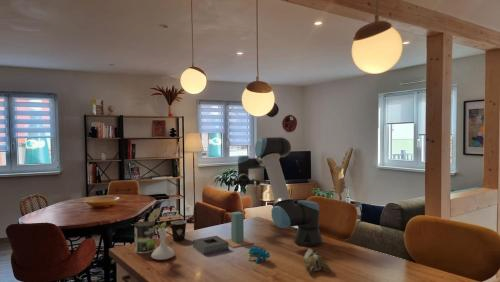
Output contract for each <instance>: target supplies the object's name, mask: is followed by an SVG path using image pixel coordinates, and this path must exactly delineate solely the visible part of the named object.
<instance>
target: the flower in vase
mask: <svg viewBox="0 0 500 282" xmlns="http://www.w3.org/2000/svg"><path fill="white" fill-rule="evenodd" d="M160 214H161V208H158V207H157V208H154V209H153V210H152V212H151V213H150V214H149V216H148V218H147V221H149V222H150V221H151V222H155V221H156V220H157V223H158V224H155V226H154V227H153V228H152V229H155V230H157V232H158V234H159V237H160V243H159V246H157V247H156V248H155V250H154V251H152V252H151V255H150V256H151V258H152V259H154V260H158V261H161V260H162V261H165V260H168V259H171V258H173V257H174V256H175V254H176V252H175V250H174V249H172V248H171V247H170V246H168V245H167V243H166V237H167V236H166V234H167V232H169V231H168V230H169V228H165V227H166V226H167V221H164V222H162V223H160V222H159V219H158V218H159V216H160ZM158 228H159V229H158Z"/></svg>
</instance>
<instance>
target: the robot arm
mask: <svg viewBox="0 0 500 282" xmlns="http://www.w3.org/2000/svg"><path fill="white" fill-rule="evenodd" d="M291 151H292V145H291V142H290V141H289V140H288V139H287V138H286V137H279V136H278V137H277V136H274V137H272V136H271V137H269V136H267V137H266V136H265V137H264V136H263V137H259V138H258V139H257V140H256V142H255V147H254V154H255V156H256V157H250V158H249V156H248V155H238V157H237V179H235V178H234V179H231V180H228V181H227V186H230V187H232V188H234V186H235V185H238V186H241V187H247V186H248V185H253V186H254V188H256V187H257V186H260V185H261V180H258V179H253V178H252V179H251V178H250V175H249V174H250V173H249V172H250V170H258V169H259V170H260V169H265V170H266V173H267V176H268V180H269V183H270V187H271V191H272V196H273V199H274V203H273V207H272V208H271V214H270V215H271V219H272V221H273V224H275V226H277V228H280V229H284V228H285V229H288V228H292V227H293V228H294V227H297V231H296V234H295V236H294V243H295V244H296V245H298V246H301V247H305V248H306V247H307V248H315V247H320V246H322V245H323V238H322V234H321V231H320V205H319V203H318V202H315V201H312V200H303V199H301V200H300V199H299V200H298V201H297V203H295V199H294V198H292V197H291V196H290V193H289V190H288V186H287V183H286V180H285V176H284V173H283V168H282V165H281V163H280V159H281V158H282V159H283V158H285V157H287V156H288V155H289V154H290V153H291Z"/></svg>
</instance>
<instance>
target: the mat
mask: <svg viewBox="0 0 500 282" xmlns="http://www.w3.org/2000/svg"><path fill="white" fill-rule="evenodd" d="M224 240H225V241H227V242H229V247H231V248H232V249H235V248H238V247H244V246H248V245H252V244H253V245H254V242H253V241H251V240H249V239H247V238H245V237H244V242H240V243H234V242H232V241H231V238H227V239H224Z"/></svg>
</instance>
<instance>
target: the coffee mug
mask: <svg viewBox="0 0 500 282" xmlns="http://www.w3.org/2000/svg"><path fill="white" fill-rule="evenodd" d="M167 227H169V228H170V229H171V233H170V232H169V231H167V232H166V234H168V235H170V236H172V241H174V242H183V241H185V239H186V238H185V237H186V228H187V221H186V220H179V219H178V220H173V221H170V225H166V226H165V227H164V228H165V229H167Z"/></svg>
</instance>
